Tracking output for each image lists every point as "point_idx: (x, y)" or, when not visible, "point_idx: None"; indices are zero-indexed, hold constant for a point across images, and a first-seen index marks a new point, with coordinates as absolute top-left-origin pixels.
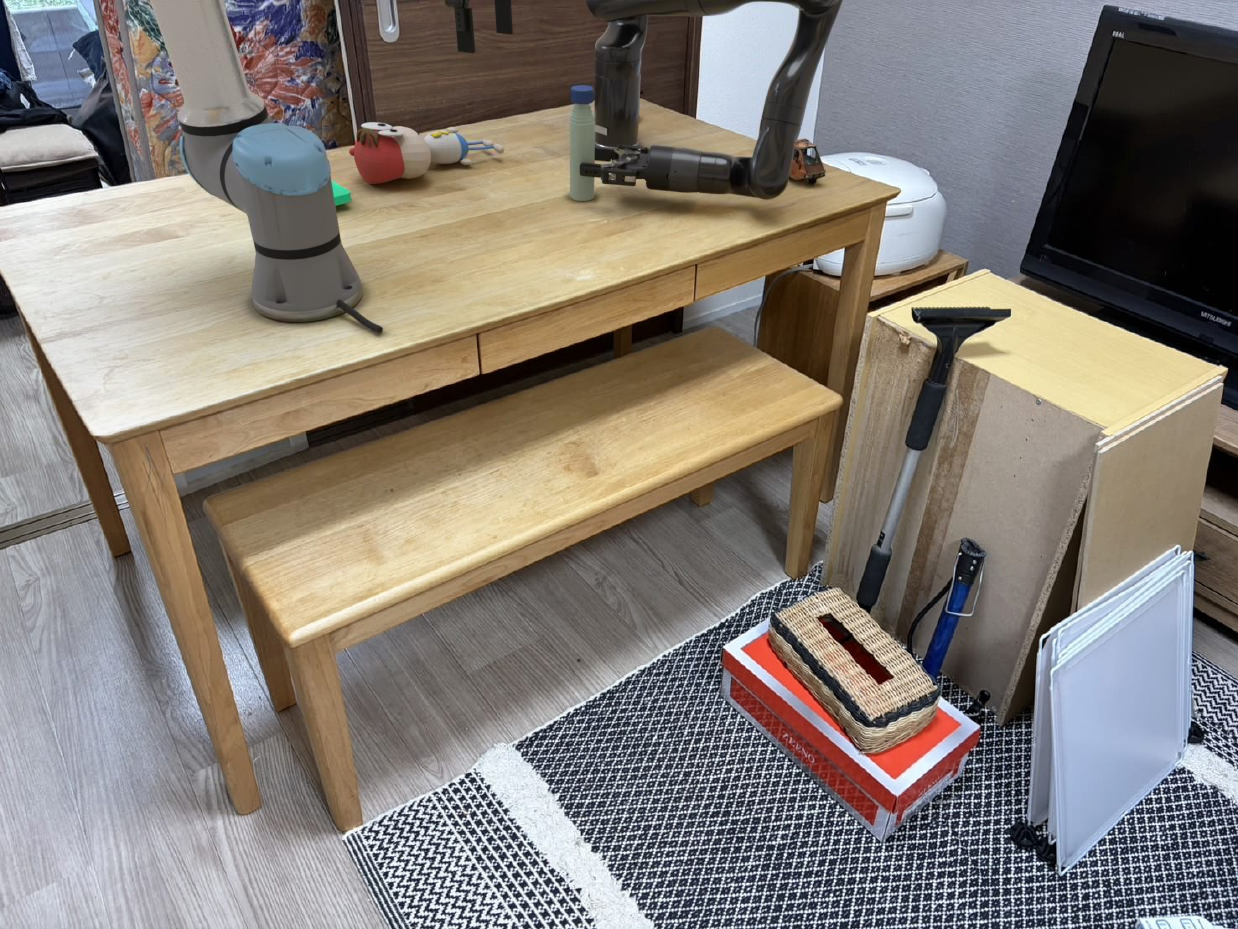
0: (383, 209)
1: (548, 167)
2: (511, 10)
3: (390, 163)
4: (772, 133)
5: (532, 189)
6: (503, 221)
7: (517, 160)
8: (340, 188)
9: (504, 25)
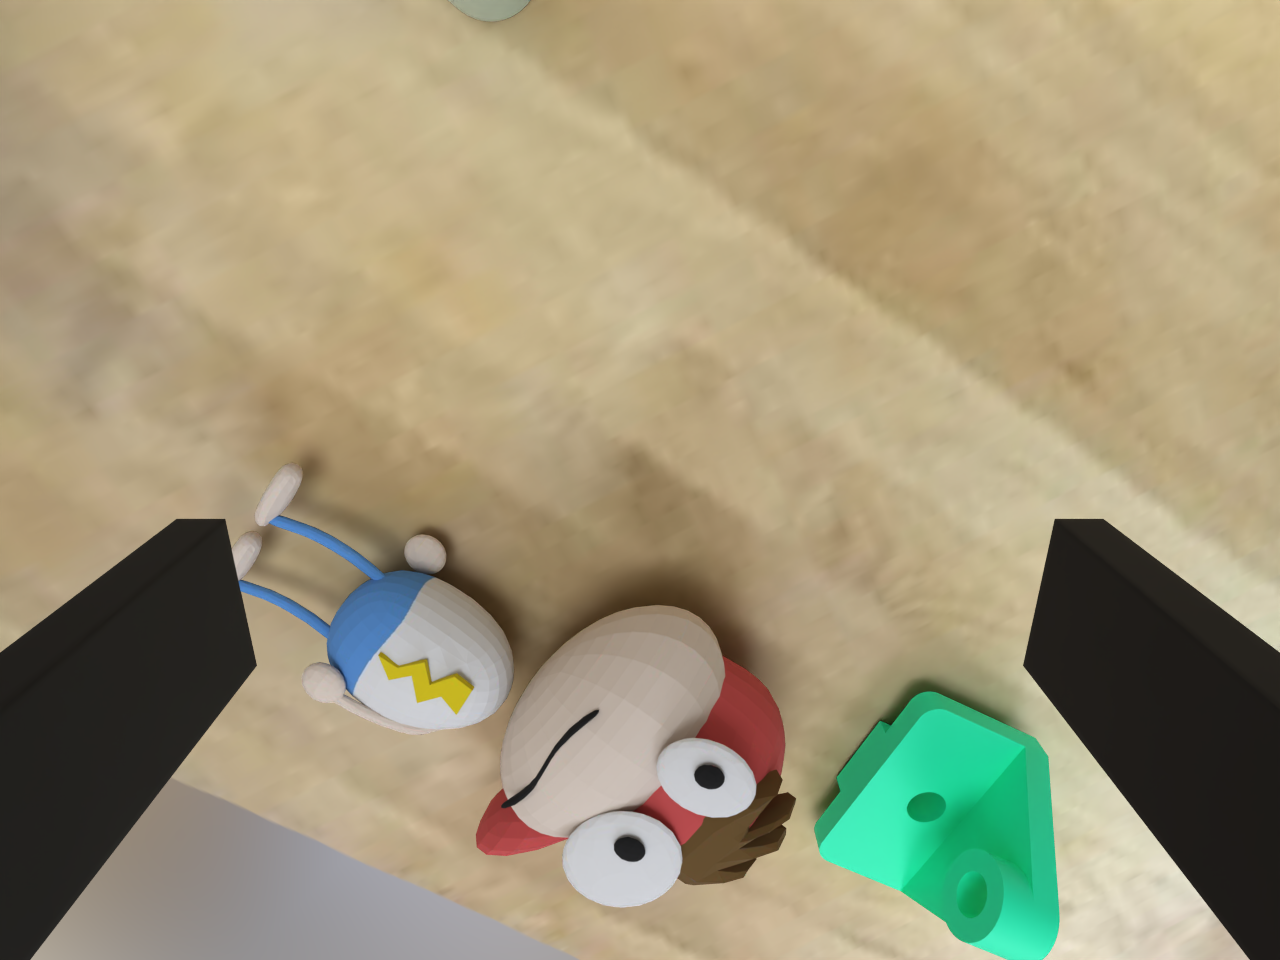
0: (895, 596)
1: (256, 264)
2: (3, 652)
3: (764, 696)
4: None
5: (511, 214)
6: (866, 169)
7: (260, 413)
8: (909, 748)
9: (194, 627)
